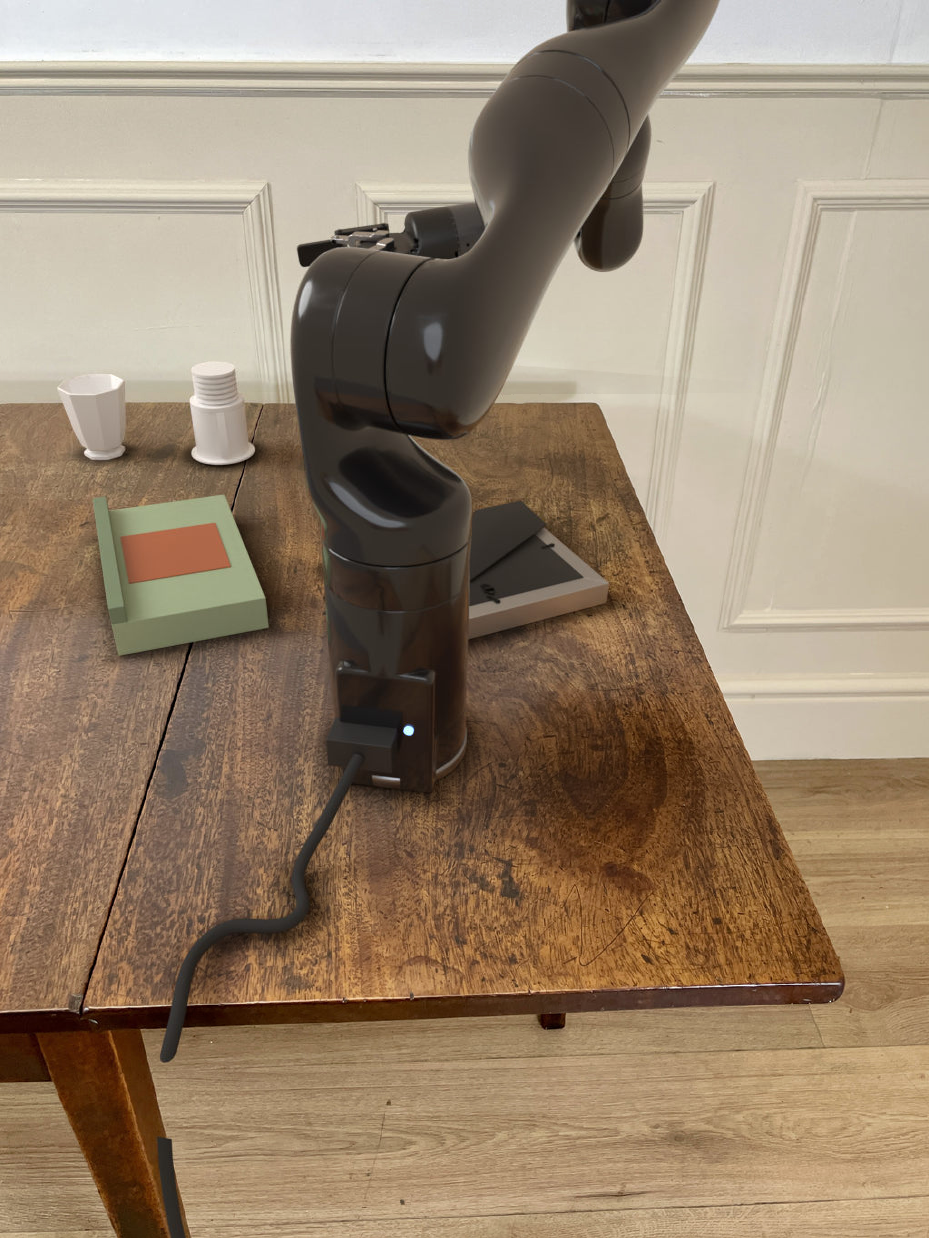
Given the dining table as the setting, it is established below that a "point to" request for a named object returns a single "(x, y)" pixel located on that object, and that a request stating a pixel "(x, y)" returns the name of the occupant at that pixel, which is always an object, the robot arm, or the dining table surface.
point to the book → (176, 574)
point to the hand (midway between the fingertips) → (303, 269)
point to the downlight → (218, 415)
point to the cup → (96, 413)
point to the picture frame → (524, 572)
